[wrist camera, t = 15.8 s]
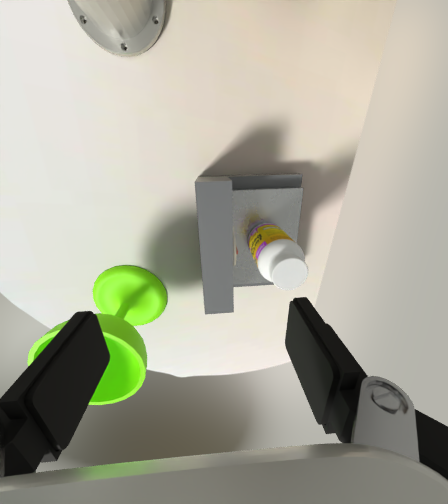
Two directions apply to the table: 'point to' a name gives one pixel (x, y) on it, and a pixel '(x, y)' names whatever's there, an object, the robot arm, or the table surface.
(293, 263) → the supplement bottle
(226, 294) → the scale
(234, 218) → the pan
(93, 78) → the table surface
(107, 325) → the wineglass
